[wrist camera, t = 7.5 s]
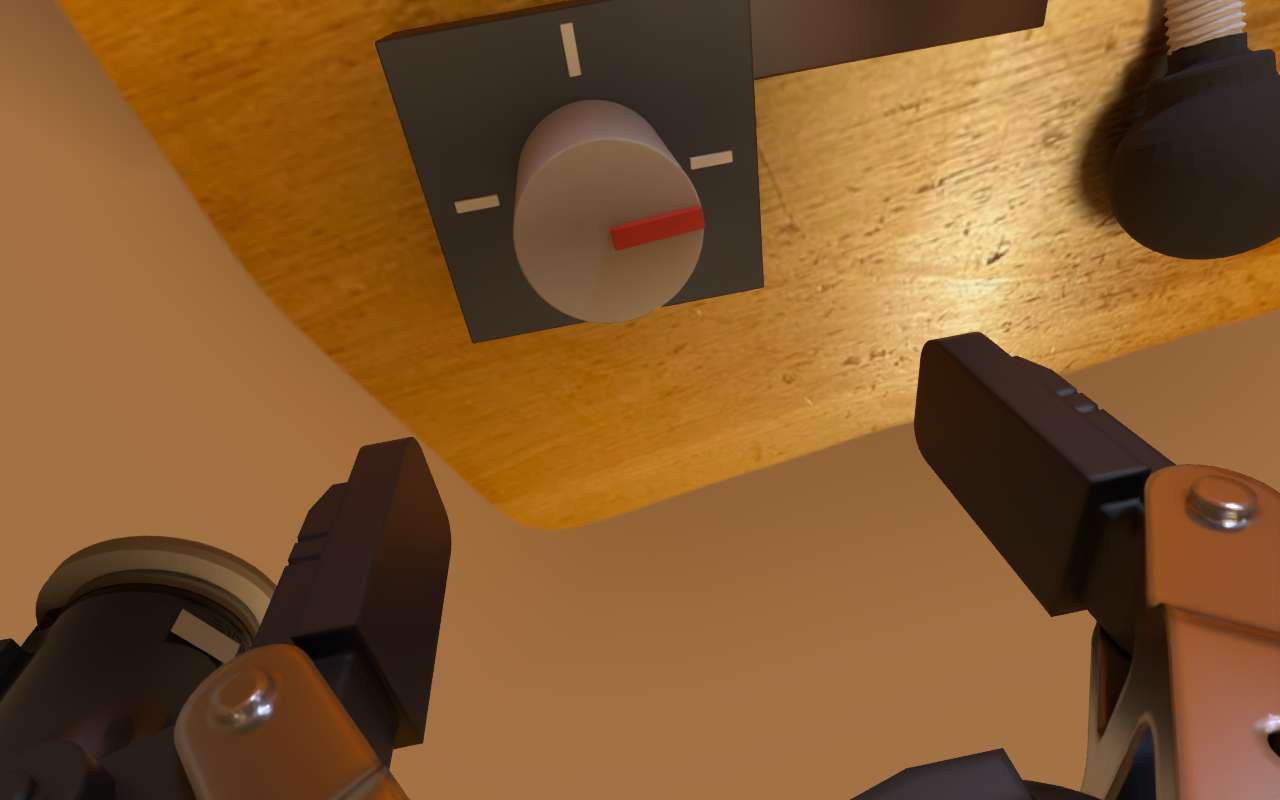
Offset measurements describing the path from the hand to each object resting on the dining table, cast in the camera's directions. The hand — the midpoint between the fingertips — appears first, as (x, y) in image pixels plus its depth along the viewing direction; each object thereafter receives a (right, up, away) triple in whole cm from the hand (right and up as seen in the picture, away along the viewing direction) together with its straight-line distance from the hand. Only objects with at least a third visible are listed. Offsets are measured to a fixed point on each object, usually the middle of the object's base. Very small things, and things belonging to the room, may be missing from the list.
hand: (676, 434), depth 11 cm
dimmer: (-2, +8, +11) cm, 14 cm away
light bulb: (+19, +12, +16) cm, 28 cm away
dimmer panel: (-2, +9, +14) cm, 17 cm away
